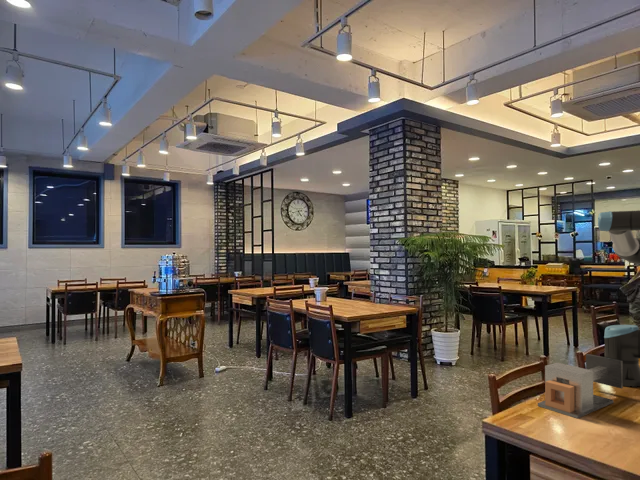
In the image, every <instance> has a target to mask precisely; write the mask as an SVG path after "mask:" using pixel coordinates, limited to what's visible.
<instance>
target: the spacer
mask: <svg viewBox="0 0 640 480" xmlns="http://www.w3.org/2000/svg"><path fill="white" fill-rule="evenodd" d="M544 384H545V385H544V387H545V389H544V390H545V391H544V392H545V393H544V397H545V398H544V401H545V405H546V406H550V407H553V408H556V409H560V410H563V411H566V412H569V413H570V412H573V411H574V386H571V385H567V384H563V383H559V382H555V381H551V380H549V381H546V382H545V381H544ZM555 390H558V391H562V392H564V402H561V401H558V400H555Z"/></svg>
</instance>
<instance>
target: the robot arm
mask: <svg viewBox="0 0 640 480" xmlns="http://www.w3.org/2000/svg"><path fill="white" fill-rule="evenodd" d="M597 226H598V230H599V231H600V232H608V234H609V237H610V239H611V241H612V250H613V252H614V253H615V255H616V256H617V257H619V258H621V259H622V260H624V261H626V262H628V263H632V264H636V265H640V238H637V237H635V236H634V234H633V231H640V210H639V209H638V210H619V211H603V212H600V213H599V214H598V216H597ZM603 338H604V339H603V340H604V342H603V343H604V357H606V358H611V359H616V360H621V361H623V387H630V386H632V387H633V388H638V387H637V386H640V361H639V359H640V328H639V326H638V325H635V324H614V325H609V326H606V327H605V329H604V336H603Z"/></svg>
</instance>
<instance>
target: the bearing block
mask: <svg viewBox="0 0 640 480" xmlns="http://www.w3.org/2000/svg"><path fill="white" fill-rule="evenodd" d="M544 373H545V374H544V383H545V382H546V381H549V380H551V381H555V382H559V383H563V384H564V379H567V380H569V385H571V386H574V411H573V412H570V413H569V412H566V411H563V410H560V409H556V408H553V407H550V406H546V405H545V400H542V401H540V402H537V407H540V408H543V409H546V410H549V411H552V412H555V413H559V414H561V415H565V416H568V417H571V418H575V419H580V418H583V417H584V416H587V415H588V414H589V415H590V414H591V413H593V412H595V411H598V410H600V409H603V408H604V407H607V406H609V405H612V404H614V399H611V398H607V397H604V396H599V395H595V394H594V382H593V370H588V369H586V368H583V367H579V366H574V365H569V364H564V363H560V362H555V363H551V364H547V365H544ZM555 400H558V401H561V402H564V392H562V391H558V390H555Z"/></svg>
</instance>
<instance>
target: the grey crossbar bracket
mask: <svg viewBox="0 0 640 480" xmlns="http://www.w3.org/2000/svg"><path fill="white" fill-rule="evenodd" d="M585 369H588V370H593V383H596V384H601V385H606V386H610V387H614V388H618V389H623V388H624V386H623V361H621V360H616V359H611V358H606V357H605V356H600V355H595V354H590V353H586V354H585ZM564 384H567V385H569V380H567V379H564Z"/></svg>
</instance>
